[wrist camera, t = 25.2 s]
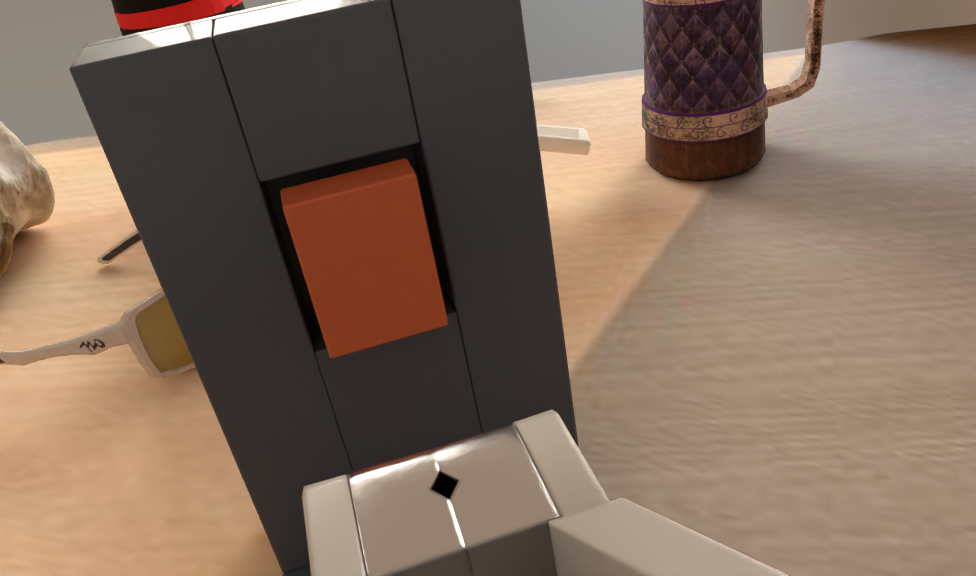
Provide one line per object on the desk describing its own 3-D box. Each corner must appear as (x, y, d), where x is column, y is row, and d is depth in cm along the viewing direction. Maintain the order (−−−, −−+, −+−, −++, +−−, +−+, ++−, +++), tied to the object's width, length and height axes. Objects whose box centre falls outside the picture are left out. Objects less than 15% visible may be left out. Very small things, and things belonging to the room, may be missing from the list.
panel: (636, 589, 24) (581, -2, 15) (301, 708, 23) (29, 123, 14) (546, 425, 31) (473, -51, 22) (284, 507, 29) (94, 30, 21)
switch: (449, 325, 22) (416, 172, 19) (330, 360, 21) (281, 207, 19) (439, 303, 23) (406, 156, 20) (325, 336, 22) (279, 188, 20)
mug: (649, 189, 47) (636, -31, 40) (639, 142, 53) (627, -56, 46) (837, 169, 45) (854, -63, 39) (805, 123, 51) (816, -84, 45)
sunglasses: (209, 402, 35) (154, 306, 33) (-33, 422, 41) (-95, 341, 38) (341, 241, 47) (306, 162, 44) (138, 273, 52) (98, 204, 50)
